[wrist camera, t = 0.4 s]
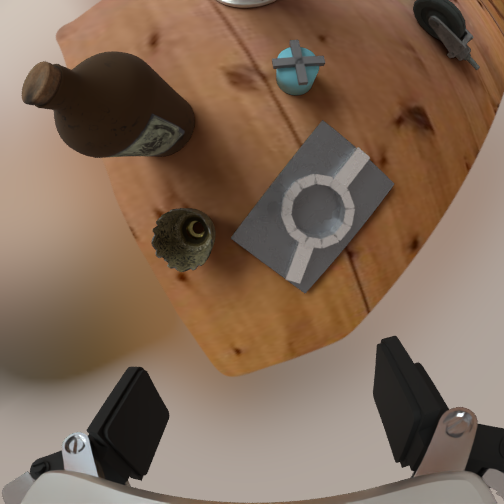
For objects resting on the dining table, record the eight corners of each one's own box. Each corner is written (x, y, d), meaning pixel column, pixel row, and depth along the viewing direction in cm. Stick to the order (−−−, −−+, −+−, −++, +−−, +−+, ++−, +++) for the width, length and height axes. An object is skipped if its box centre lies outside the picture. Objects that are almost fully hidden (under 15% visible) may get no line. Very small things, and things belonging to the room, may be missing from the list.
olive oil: (123, 116, 34) (-8, 85, 10) (182, 79, 32) (80, -8, 8) (148, 174, 37) (8, 188, 13) (211, 138, 35) (110, 85, 11)
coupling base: (320, 122, 33) (326, 116, 29) (390, 183, 34) (402, 185, 30) (232, 235, 38) (227, 242, 34) (304, 289, 40) (307, 301, 36)
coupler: (290, 58, 30) (293, 36, 24) (319, 78, 31) (328, 59, 24) (269, 82, 32) (268, 63, 25) (298, 102, 32) (304, 86, 26)
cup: (235, 228, 38) (225, 241, 30) (200, 263, 40) (184, 284, 32) (197, 190, 37) (177, 195, 29) (164, 227, 39) (140, 240, 31)
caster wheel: (401, 20, 27) (467, 79, 27) (419, -10, 17) (496, 62, 18) (414, 8, 25) (476, 65, 25) (431, -19, 16) (503, 48, 16)
